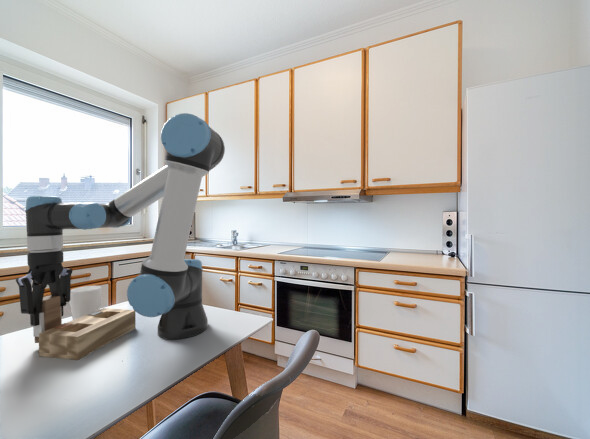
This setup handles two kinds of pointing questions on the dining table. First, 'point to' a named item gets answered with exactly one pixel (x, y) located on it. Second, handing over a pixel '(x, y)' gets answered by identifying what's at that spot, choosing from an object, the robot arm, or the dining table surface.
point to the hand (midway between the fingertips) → (48, 332)
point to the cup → (85, 300)
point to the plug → (50, 313)
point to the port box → (86, 333)
